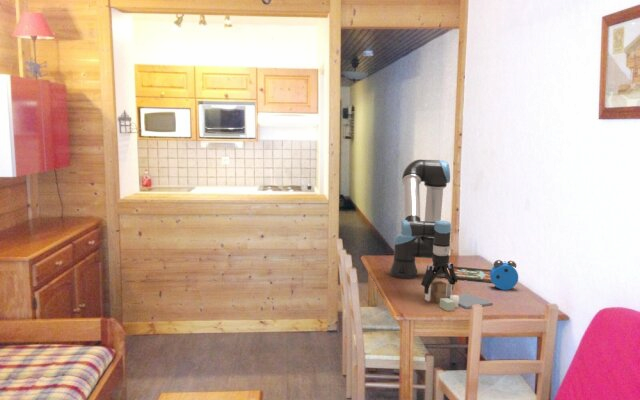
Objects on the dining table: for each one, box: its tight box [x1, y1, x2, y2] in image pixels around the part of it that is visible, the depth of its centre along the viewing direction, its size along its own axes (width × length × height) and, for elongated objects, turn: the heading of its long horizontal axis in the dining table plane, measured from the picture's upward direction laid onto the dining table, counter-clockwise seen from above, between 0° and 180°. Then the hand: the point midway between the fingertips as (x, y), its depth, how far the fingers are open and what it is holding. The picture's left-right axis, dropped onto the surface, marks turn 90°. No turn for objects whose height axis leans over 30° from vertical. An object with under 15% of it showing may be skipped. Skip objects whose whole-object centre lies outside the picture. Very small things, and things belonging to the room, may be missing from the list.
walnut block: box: [430, 280, 447, 304], centre depth 252 cm, size 5×5×9 cm
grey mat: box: [446, 292, 494, 310], centre depth 254 cm, size 16×16×1 cm
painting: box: [436, 265, 493, 284], centre depth 303 cm, size 28×35×2 cm
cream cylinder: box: [450, 294, 460, 309], centre depth 246 cm, size 4×4×5 cm
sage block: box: [438, 298, 456, 312], centre depth 243 cm, size 6×4×4 cm, turn 19°
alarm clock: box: [490, 259, 519, 291], centre depth 277 cm, size 13×6×15 cm, turn 85°
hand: (438, 298), depth 253 cm, fingers open, 12 cm apart
